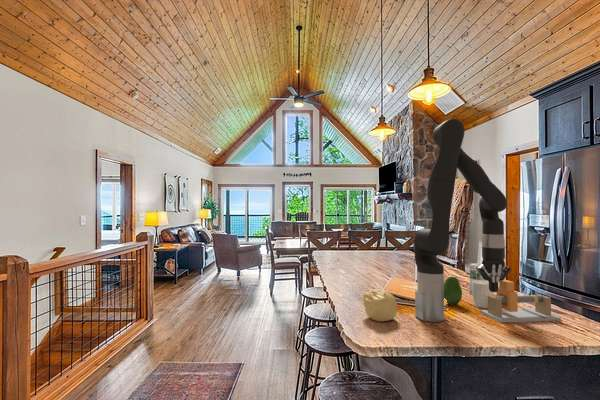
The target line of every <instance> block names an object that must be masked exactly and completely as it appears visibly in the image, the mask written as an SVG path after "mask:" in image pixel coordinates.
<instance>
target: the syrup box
mask: <svg viewBox="0 0 600 400" xmlns="http://www.w3.org/2000/svg"><path fill="white" fill-rule="evenodd" d="M481 265H482V263H477V262H475V263H473V262H472V263H469V291H468V293H469V294H470V295H473V292H472V281H473V280H483V281H487V280H485V279H483V277H482V276H481V275H480V273H479V272H478V271H477V269H476V267H480V266H481ZM485 272H486V270H485Z"/></svg>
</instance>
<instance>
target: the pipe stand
mask: <svg viewBox="0 0 600 400" xmlns="http://www.w3.org/2000/svg"><path fill="white" fill-rule="evenodd" d="M517 301H518V304H520V303H522V304H523V303H525V304H526V303H531V304H535V305H534V307H535V308H518V312H509V311H507V310H504V309H502V303H507V296H497V295H495V296H494V295H490V296H488V308H487V309H480V310H479V314H481V315H484V316H486V317H488V318H490V319H492V320H495V322H496V321H497V322H499V323H522V322H525V323H526V322H527V323H528V322H529V323H530V322H553V321H554V322H555V321H558V322H559V321H562V320H561V317H560V316H557V315H555V314H552V298H551V297H549V296H545V295H543V294H540V293H539V294H536V293H535V294H530V295H517Z"/></svg>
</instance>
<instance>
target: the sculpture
mask: <svg viewBox="0 0 600 400" xmlns="http://www.w3.org/2000/svg"><path fill="white" fill-rule="evenodd" d="M362 296H363V297H362V299H363V307H364V308H365V314H366V315H367V317H368V318H370V319H371V320H372V321H374V322H381V323H382V322H387V321H391V320H394V319H395V317H396V316H397V314H398V303H397V300H396V298H395V297H394V295H393V294H392V293H390V292H388V291H386V290H381V289H379V288H377V289H372V290H368V291H367V292H366V293H364V294H363V295H362Z"/></svg>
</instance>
